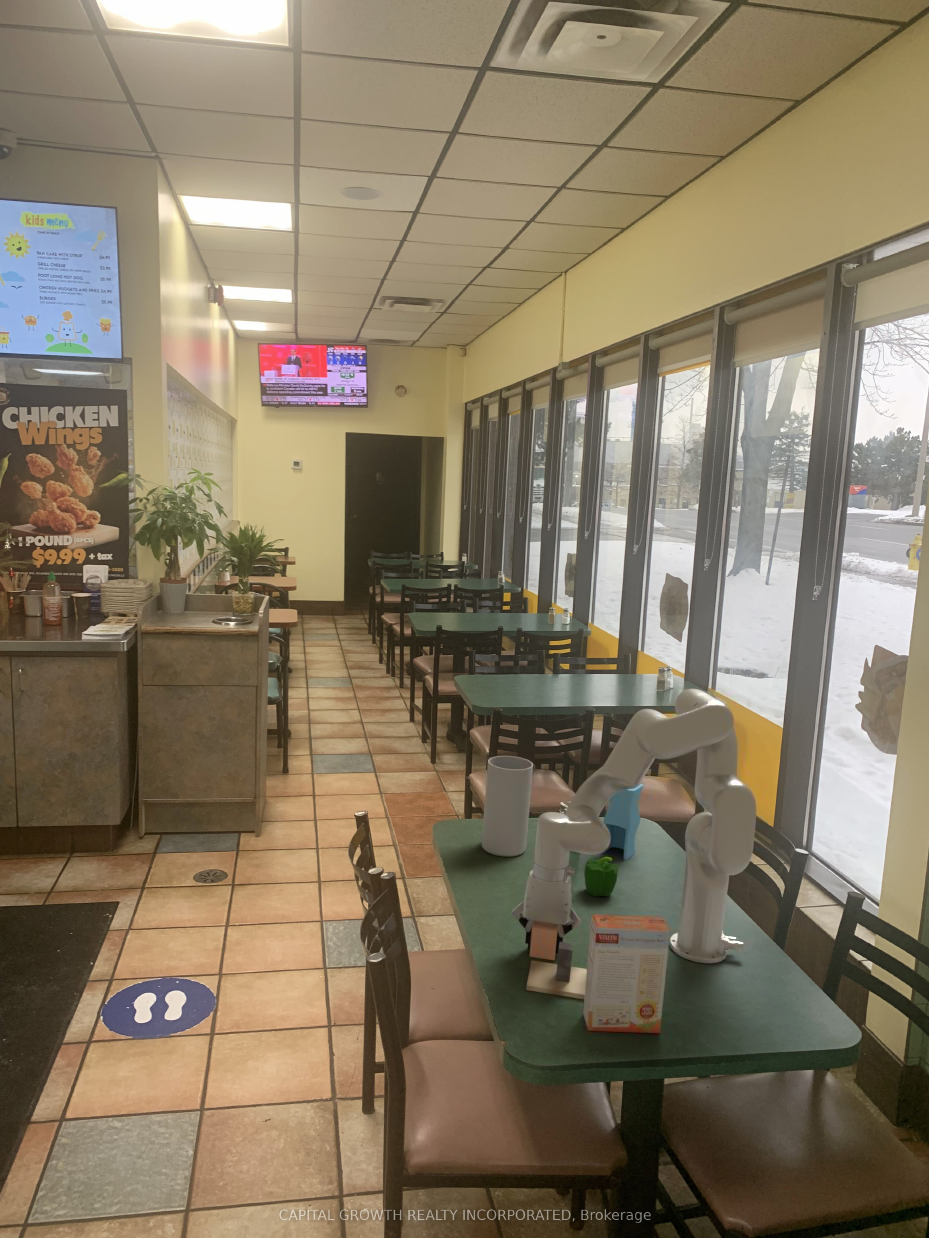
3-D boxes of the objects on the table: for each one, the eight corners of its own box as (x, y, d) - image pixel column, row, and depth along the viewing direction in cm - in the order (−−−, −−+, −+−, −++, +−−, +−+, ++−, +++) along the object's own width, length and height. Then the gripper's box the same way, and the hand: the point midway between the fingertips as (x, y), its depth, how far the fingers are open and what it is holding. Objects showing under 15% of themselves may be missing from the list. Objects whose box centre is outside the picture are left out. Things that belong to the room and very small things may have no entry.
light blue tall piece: (636, 851, 256) (643, 784, 253) (626, 860, 249) (633, 791, 246) (611, 844, 260) (617, 778, 257) (600, 852, 253) (607, 784, 250)
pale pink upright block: (556, 948, 198) (558, 920, 197) (554, 960, 192) (557, 931, 191) (532, 944, 199) (534, 916, 198) (529, 956, 193) (532, 927, 192)
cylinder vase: (505, 836, 260) (511, 753, 256) (534, 851, 250) (542, 765, 246) (472, 845, 252) (478, 759, 248) (501, 861, 242) (509, 772, 238)
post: (597, 975, 188) (601, 939, 186) (596, 1001, 178) (599, 963, 177) (531, 964, 190) (534, 929, 189) (526, 989, 180) (529, 952, 179)
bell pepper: (574, 890, 227) (578, 853, 226) (595, 883, 233) (599, 846, 231) (600, 903, 221) (604, 865, 220) (621, 895, 227) (625, 858, 225)
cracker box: (652, 1016, 174) (663, 915, 171) (660, 1035, 168) (672, 931, 165) (581, 1012, 174) (591, 911, 170) (586, 1031, 168) (597, 927, 165)
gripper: (591, 868, 195) (583, 946, 198) (513, 857, 198) (506, 934, 200) (589, 883, 188) (581, 963, 190) (509, 871, 190) (502, 951, 193)
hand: (543, 947), depth 195 cm, fingers closed on pale pink upright block, 5 cm apart
